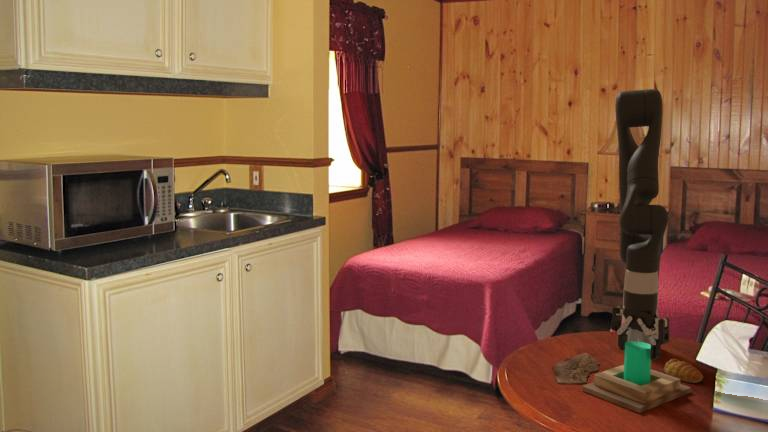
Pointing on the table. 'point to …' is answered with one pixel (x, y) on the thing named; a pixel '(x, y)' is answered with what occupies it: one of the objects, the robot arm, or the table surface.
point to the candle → (637, 362)
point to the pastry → (683, 371)
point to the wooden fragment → (575, 369)
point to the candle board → (630, 401)
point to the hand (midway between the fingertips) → (638, 354)
